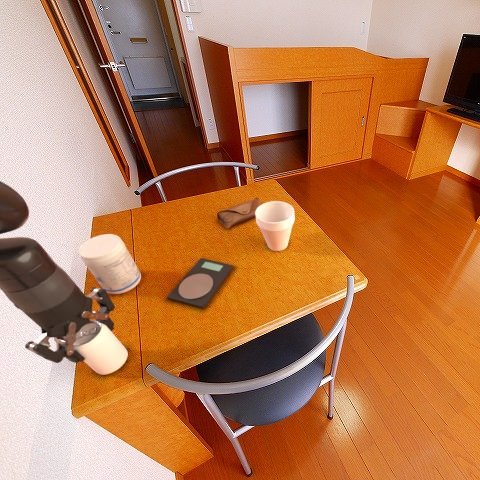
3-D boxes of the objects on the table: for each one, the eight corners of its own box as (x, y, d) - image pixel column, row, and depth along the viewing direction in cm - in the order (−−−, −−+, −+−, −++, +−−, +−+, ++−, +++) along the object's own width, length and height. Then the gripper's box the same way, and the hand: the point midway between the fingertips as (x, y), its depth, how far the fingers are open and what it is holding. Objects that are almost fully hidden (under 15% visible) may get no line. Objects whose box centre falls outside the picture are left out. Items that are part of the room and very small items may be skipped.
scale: (203, 309, 74) (201, 305, 73) (168, 299, 76) (166, 296, 75) (233, 267, 85) (232, 264, 84) (201, 260, 87) (200, 256, 86)
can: (97, 354, 63) (68, 325, 56) (129, 343, 66) (105, 314, 58) (93, 380, 59) (61, 353, 51) (127, 368, 61) (101, 340, 53)
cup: (301, 238, 97) (301, 206, 88) (285, 260, 88) (282, 227, 80) (271, 229, 100) (267, 197, 92) (252, 250, 92) (246, 217, 83)
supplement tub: (97, 286, 78) (68, 248, 69) (129, 266, 85) (107, 228, 75) (117, 301, 75) (89, 263, 65) (149, 279, 81) (128, 241, 71)
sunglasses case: (227, 229, 99) (220, 211, 97) (222, 229, 105) (214, 212, 103) (270, 211, 108) (263, 195, 106) (262, 212, 114) (256, 197, 112)
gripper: (17, 335, 41) (78, 383, 51) (100, 268, 51) (136, 319, 62) (-20, 323, 42) (47, 372, 53) (69, 259, 53) (109, 311, 63)
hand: (95, 343), depth 57 cm, fingers closed on can, 6 cm apart
